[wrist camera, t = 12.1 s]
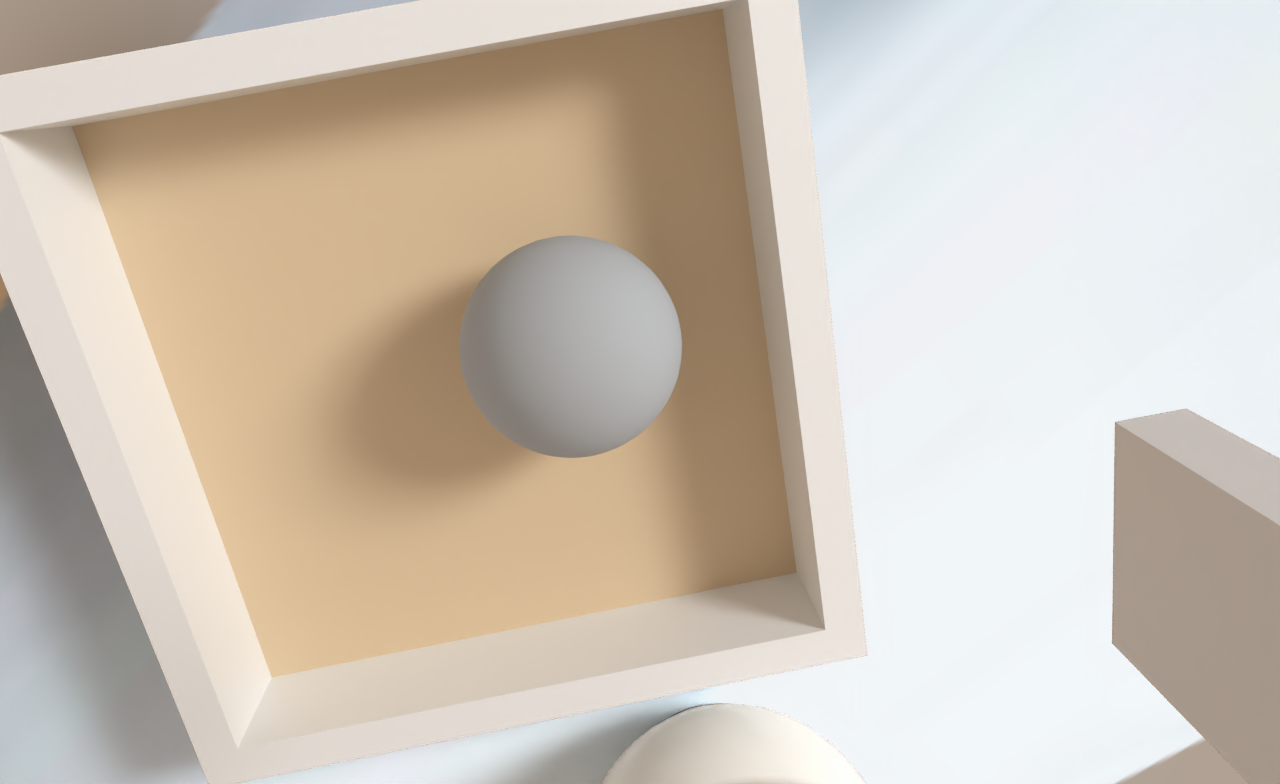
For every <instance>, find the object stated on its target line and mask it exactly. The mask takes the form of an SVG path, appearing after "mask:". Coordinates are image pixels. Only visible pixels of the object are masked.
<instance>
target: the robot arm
mask: <svg viewBox="0 0 1280 784" xmlns="http://www.w3.org/2000/svg"><path fill="white" fill-rule="evenodd" d="M1112 644H1113V645H1114V646H1115V647H1116V648H1117V649H1118V650H1119V651H1120V652H1121V653H1122V654H1123V655H1124V656H1125V657H1126V658H1127V659H1128V660H1129V661H1130V662H1131V663H1132V664H1133V665H1134V666H1135V667H1136V668H1137V669H1138V670H1139V671H1140V672H1141V673H1142V674H1143V675H1144V677H1145V678H1146V679H1147V680H1148V681H1149V682H1150V683H1151V684H1152V685H1153V686H1154V687H1155V688H1156V689H1157V690H1158V691H1159V692H1160V693H1161V694H1162V695H1163V696H1164V697H1165V698H1166V699H1167V700H1168V701H1169V702H1170V703H1171V704H1172V705H1173V706H1174V707H1175V708H1176V709H1177V711H1178V712H1179V713H1180V714H1181V715H1182V716H1183V717H1184V718H1185V719H1186V720H1187V721H1188V722H1189V723H1190V724H1191V725H1192V726H1193V727H1194V728H1195V729H1196V730H1197V731H1198V732H1199V733H1200V734H1201V735H1202V736H1203V737H1204V738H1205V739H1206V740H1207V741H1208V742H1209V743H1210V745H1211V746H1212V747H1213V748H1214V749H1215V750H1216V751H1217V752H1218V753H1219V754H1220V755H1221V756H1222V757H1223V758H1224V759H1225V760H1226V761H1227V762H1228V763H1229V764H1230V765H1231V766H1232V767H1233V768H1234V769H1235V770H1236V771H1237V772H1238V773H1239V774H1240V775H1241V776H1242V777H1243V779H1245V781H1246V782H1248V784H1280V459H1279V458H1278V457H1276V456H1274V455H1272V454H1270V453H1268V452H1266V451H1264V450H1263V449H1261V448H1259V447H1257V446H1255V445H1253V444H1251V443H1249V442H1248V441H1246V440H1244V439H1242V438H1240V437H1238V436H1236V435H1235V434H1233V433H1231V432H1229V431H1227V430H1225V429H1223V428H1221V427H1220V426H1218V425H1216V424H1214V423H1212V422H1210V421H1208V420H1206V419H1205V418H1203V417H1201V416H1199V415H1197V414H1195V413H1193V412H1192V411H1190V410H1188V409H1182V410H1176V411H1171V412H1166V413H1160V414H1155V415H1150V416H1144V417H1139V418H1134V419H1128V420H1123V421H1118V422H1115V456H1114V535H1113V613H1112Z"/></svg>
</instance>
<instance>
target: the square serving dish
mask: <svg viewBox="0 0 1280 784" xmlns="http://www.w3.org/2000/svg"><path fill="white" fill-rule="evenodd" d="M556 236H584V237H591V238H596V239H599V240H603V241H606V242H609V243H612V244H614V245H616V246H618V247H620V248H622V249H624V250H626V251H628V252H630V253H631V254H632V255H634V256H635V257H637V258H638V259H639V260H640V261H642V262H643V263H644V264H645V265H646V266H647V267H648V268H650V269H651V270H652V272H653V273H654V274H655V275H656V276H657V277H658V279H659V280H660V281H661V283H662V284H663V286H664V287H665V289H666V291H667V292H668V294H669V296H670V298H671V300H672V302H673V304H674V307H675V310H676V312H677V316H678V319H679V324H680V330H681V337H682V356H681V365H680V369H679V374H678V378H677V382H676V384H675V387H674V389H673V391H672V394H671V396H670V398H669V400H668V402H667V403H666V405H665V406H664V408H663V410H662V411H661V413H660V414H659V415H658V416H657V418H656V419H655V420H654V421H653V422H652V423H651V424H650V425H649V426H648V427H647V428H646V429H645V430H644V431H643V432H642V433H640V434H639V435H638V436H637V437H635V438H634V439H632V440H630V441H629V442H627V443H625V444H624V445H622V446H620V447H618V448H616V449H613V450H611V451H608V452H605V453H602V454H598V455H594V456H589V457H579V458H563V457H554V456H548V455H544V454H540V453H537V452H534V451H531V450H529V449H526V448H524V447H522V446H520V445H518V444H516V443H515V442H513V441H511V440H510V439H508V438H507V437H505V436H504V435H503V434H501V433H500V432H499V431H498V430H497V429H495V428H494V427H493V426H492V425H491V424H490V423H489V421H488V420H487V419H486V418H485V417H484V415H483V414H482V413H481V412H480V410H479V409H478V407H477V405H476V404H475V402H474V400H473V399H472V397H471V395H470V393H469V390H468V388H467V386H466V383H465V380H464V377H463V374H462V369H461V363H460V352H459V338H460V331H461V325H462V319H463V316H464V313H465V310H466V307H467V305H468V302H469V300H470V298H471V296H472V294H473V292H474V291H475V289H476V287H477V286H478V284H479V282H480V281H481V280H482V279H483V278H484V276H485V275H486V274H487V273H488V272H489V271H490V269H491V268H492V267H493V266H494V265H495V264H497V263H498V262H499V261H500V260H501V259H503V258H504V257H505V256H507V255H508V254H510V253H511V252H513V251H515V250H516V249H518V248H520V247H522V246H525V245H527V244H529V243H532V242H535V241H537V240H541V239H546V238H550V237H556ZM0 274H1V276H2V279H3V281H4V284H5V286H6V288H7V291H8V293H9V296H10V298H11V301H12V303H13V306H14V308H15V311H16V313H17V315H18V318H19V320H20V323H21V325H22V328H23V330H24V333H25V335H26V338H27V340H28V342H29V345H30V347H31V350H32V352H33V355H34V357H35V360H36V362H37V365H38V367H39V369H40V372H41V374H42V377H43V379H44V382H45V384H46V387H47V389H48V392H49V394H50V396H51V399H52V401H53V404H54V406H55V409H56V411H57V414H58V416H59V418H60V421H61V423H62V426H63V428H64V431H65V433H66V436H67V438H68V441H69V443H70V445H71V448H72V450H73V453H74V455H75V458H76V460H77V463H78V465H79V468H80V470H81V472H82V475H83V477H84V480H85V482H86V485H87V487H88V490H89V492H90V495H91V497H92V499H93V502H94V504H95V507H96V509H97V512H98V514H99V517H100V519H101V522H102V524H103V526H104V529H105V531H106V534H107V536H108V539H109V541H110V544H111V546H112V549H113V551H114V553H115V556H116V558H117V561H118V563H119V566H120V568H121V571H122V573H123V575H124V578H125V580H126V583H127V585H128V588H129V590H130V593H131V595H132V598H133V600H134V602H135V605H136V607H137V610H138V612H139V615H140V617H141V620H142V622H143V625H144V627H145V629H146V632H147V634H148V637H149V639H150V642H151V644H152V647H153V649H154V652H155V654H156V656H157V659H158V661H159V664H160V666H161V669H162V671H163V674H164V676H165V679H166V681H167V683H168V686H169V688H170V691H171V693H172V696H173V698H174V701H175V703H176V705H177V708H178V710H179V713H180V715H181V718H182V720H183V723H184V725H185V728H186V730H187V732H188V735H189V737H190V740H191V742H192V745H193V747H194V750H195V752H196V755H197V757H198V759H199V762H200V764H201V767H202V769H203V772H204V774H205V777H206V779H207V782H208V784H236V783H241V782H246V781H251V780H256V779H260V778H265V777H270V776H275V775H280V774H285V773H290V772H295V771H300V770H305V769H310V768H315V767H320V766H325V765H329V764H334V763H339V762H344V761H349V760H354V759H359V758H364V757H369V756H374V755H379V754H384V753H389V752H394V751H398V750H403V749H408V748H413V747H418V746H423V745H428V744H433V743H438V742H443V741H448V740H453V739H458V738H463V737H467V736H472V735H477V734H482V733H487V732H492V731H497V730H502V729H507V728H512V727H517V726H522V725H527V724H531V723H536V722H541V721H546V720H551V719H556V718H561V717H566V716H571V715H576V714H581V713H586V712H591V711H596V710H600V709H605V708H610V707H615V706H620V705H625V704H630V703H635V702H640V701H645V700H650V699H655V698H660V697H665V696H669V695H674V694H679V693H684V692H689V691H694V690H699V689H704V688H709V687H714V686H719V685H724V684H729V683H734V682H738V681H743V680H748V679H753V678H758V677H763V676H768V675H773V674H778V673H783V672H788V671H793V670H798V669H803V668H807V667H812V666H817V665H822V664H827V663H832V662H837V661H842V660H847V659H852V658H857V657H862V656H867V647H866V638H865V628H864V619H863V609H862V600H861V591H860V581H859V572H858V562H857V553H856V544H855V534H854V525H853V515H852V506H851V497H850V487H849V478H848V468H847V459H846V449H845V440H844V431H843V421H842V412H841V402H840V393H839V384H838V374H837V365H836V355H835V346H834V336H833V327H832V318H831V308H830V299H829V289H828V280H827V271H826V261H825V252H824V242H823V233H822V223H821V214H820V205H819V195H818V186H817V176H816V167H815V158H814V148H813V139H812V129H811V120H810V110H809V101H808V92H807V82H806V73H805V63H804V54H803V45H802V35H801V26H800V16H799V7H798V0H419V1H413V2H408V3H402V4H396V5H391V6H385V7H380V8H374V9H368V10H363V11H357V12H352V13H346V14H340V15H335V16H329V17H324V18H318V19H312V20H307V21H301V22H296V23H290V24H284V25H279V26H273V27H268V28H262V29H256V30H251V31H245V32H240V33H234V34H228V35H223V36H217V37H212V38H206V39H200V40H195V41H189V42H184V43H178V44H172V45H168V46H162V47H156V48H150V49H144V50H139V51H133V52H128V53H122V54H116V55H111V56H106V57H100V58H94V59H88V60H83V61H77V62H72V63H66V64H60V65H55V66H49V67H44V68H38V69H32V70H27V71H21V72H16V73H10V74H5V75H0Z"/></svg>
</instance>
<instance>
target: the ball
mask: <svg viewBox="0 0 1280 784" xmlns="http://www.w3.org/2000/svg"><path fill="white" fill-rule="evenodd" d="M459 352H460V363H461V369H462V374H463V377H464V380H465V383H466V386H467V388H468V390H469V393H470V395H471V397H472V399H473V400H474V402H475V404H476V405H477V407H478V409H479V410H480V412H481V413H482V414H483V415H484V417H485V418H486V419H487V420H488V421H489V423H490V424H491V425H492V426H493V427H494V428H495V429H497V430H498V431H499V432H500V433H501V434H503V435H504V436H505V437H507V438H508V439H510V440H511V441H513V442H515V443H516V444H518V445H520V446H522V447H524V448H526V449H529V450H531V451H534V452H537V453H540V454H544V455H548V456H554V457H563V458H579V457H589V456H594V455H598V454H602V453H605V452H608V451H611V450H613V449H616V448H618V447H620V446H622V445H624V444H625V443H627V442H629V441H630V440H632V439H634V438H635V437H637V436H638V435H639V434H640V433H642V432H643V431H644V430H645V429H646V428H647V427H648V426H649V425H650V424H651V423H652V422H653V421H654V420H655V419H656V418H657V416H658V415H659V414H660V413H661V411H662V410H663V408H664V406H665V405H666V403H667V402H668V400H669V398H670V396H671V394H672V391H673V389H674V387H675V384H676V382H677V378H678V374H679V369H680V365H681V356H682V337H681V330H680V324H679V319H678V316H677V312H676V310H675V307H674V304H673V302H672V300H671V298H670V296H669V294H668V292H667V291H666V289H665V287H664V286H663V284H662V283H661V281H660V280H659V279H658V277H657V276H656V275H655V274H654V273H653V272H652V270H651V269H650V268H648V267H647V266H646V265H645V264H644V263H643V262H642V261H640V260H639V259H638V258H637V257H635V256H634V255H632V254H631V253H630V252H628V251H626V250H624V249H622V248H620V247H618V246H616V245H614V244H612V243H609V242H606V241H603V240H599V239H596V238H591V237H584V236H556V237H550V238H546V239H541V240H537V241H535V242H532V243H529V244H527V245H525V246H522V247H520V248H518V249H516V250H515V251H513V252H511V253H510V254H508V255H507V256H505V257H504V258H503V259H501V260H500V261H499V262H498V263H497V264H495V265H494V266H493V267H492V268H491V269H490V271H489V272H488V273H487V274H486V275H485V276H484V278H483V279H482V280H481V281H480V282H479V284H478V286H477V287H476V289H475V291H474V292H473V294H472V296H471V298H470V300H469V302H468V305H467V307H466V310H465V313H464V316H463V319H462V325H461V331H460V338H459Z"/></svg>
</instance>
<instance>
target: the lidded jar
mask: <svg viewBox="0 0 1280 784" xmlns="http://www.w3.org/2000/svg"><path fill="white" fill-rule="evenodd" d="M602 784H866V782H865V781H864V779H863V778H862V776H861V775H860V774H859V772H858V771H857V770H856V769H855V768H854V767H853V765H852V764H851V763H850V762H849V761H848V760H847V759H846V758H845V756H844V755H843V754H842V753H841V752H840V751H839V750H838V749H837V748H836V747H835V746H834V745H833V744H832V743H830V742H829V741H828V740H826V739H825V738H824V737H822V736H821V735H820V734H818V733H817V732H816V731H814V730H813V729H811V728H810V727H809V726H807V725H806V724H804V723H802V722H800V721H798V720H796V719H794V718H792V717H790V716H787V715H785V714H782V713H779V712H776V711H773V710H770V709H767V708H764V707H758V706H752V705H746V704H708V705H701V706H697V707H693V708H690V709H687V710H684V711H682V712H679V713H677V714H675V715H673V716H672V717H670V718H668V719H666V720H664V721H662V722H661V723H659V724H657V725H655V726H653V727H652V728H651V729H649V730H648V731H647V732H645V733H644V734H643V735H641V736H640V737H638V738H637V739H636V740H635V741H634V742H633V743H632V744H631V745H630V746H629V747H628V748H627V749H626V750H625V751H624V753H623V754H622V755H621V756H620V757H619V758H618V759H617V761H616V762H615V763H614V765H613V766H612V767H611V769H610V770H609V772H608V773H607V775H606V777H605V779H604V781H603V783H602Z"/></svg>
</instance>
